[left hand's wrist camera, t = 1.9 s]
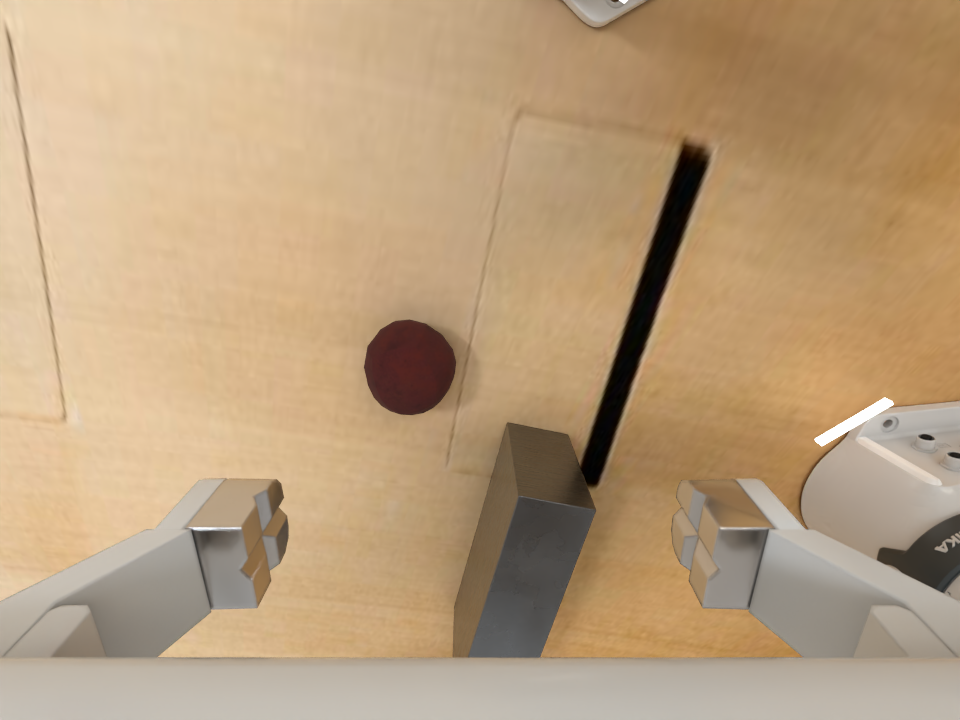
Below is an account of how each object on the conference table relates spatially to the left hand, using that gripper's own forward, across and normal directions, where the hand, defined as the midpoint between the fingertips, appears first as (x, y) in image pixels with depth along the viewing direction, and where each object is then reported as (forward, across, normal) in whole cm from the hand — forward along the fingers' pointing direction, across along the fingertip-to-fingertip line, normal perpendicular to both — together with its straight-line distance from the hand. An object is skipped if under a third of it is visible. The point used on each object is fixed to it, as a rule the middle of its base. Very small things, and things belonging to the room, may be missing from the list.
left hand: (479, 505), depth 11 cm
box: (+34, +3, -28) cm, 44 cm away
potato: (+34, -6, -9) cm, 36 cm away
